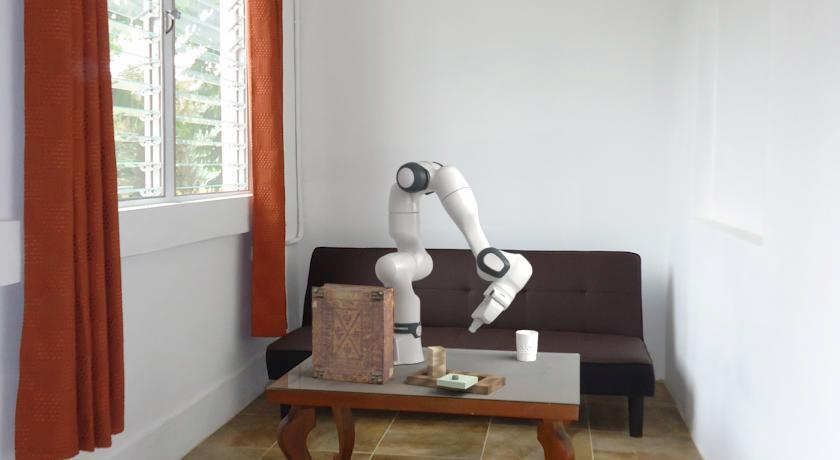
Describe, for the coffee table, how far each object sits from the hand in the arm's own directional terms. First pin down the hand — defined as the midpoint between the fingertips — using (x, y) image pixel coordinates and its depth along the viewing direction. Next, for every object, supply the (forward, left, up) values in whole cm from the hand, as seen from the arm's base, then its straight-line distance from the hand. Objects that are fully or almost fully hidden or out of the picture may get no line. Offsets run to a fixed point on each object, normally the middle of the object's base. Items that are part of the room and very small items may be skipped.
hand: (470, 331), depth 278 cm
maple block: (-8, -9, -16) cm, 20 cm away
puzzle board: (-1, -9, -16) cm, 18 cm away
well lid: (+4, -18, -13) cm, 23 cm away
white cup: (+6, +35, -16) cm, 39 cm away
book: (-34, -18, -16) cm, 41 cm away
